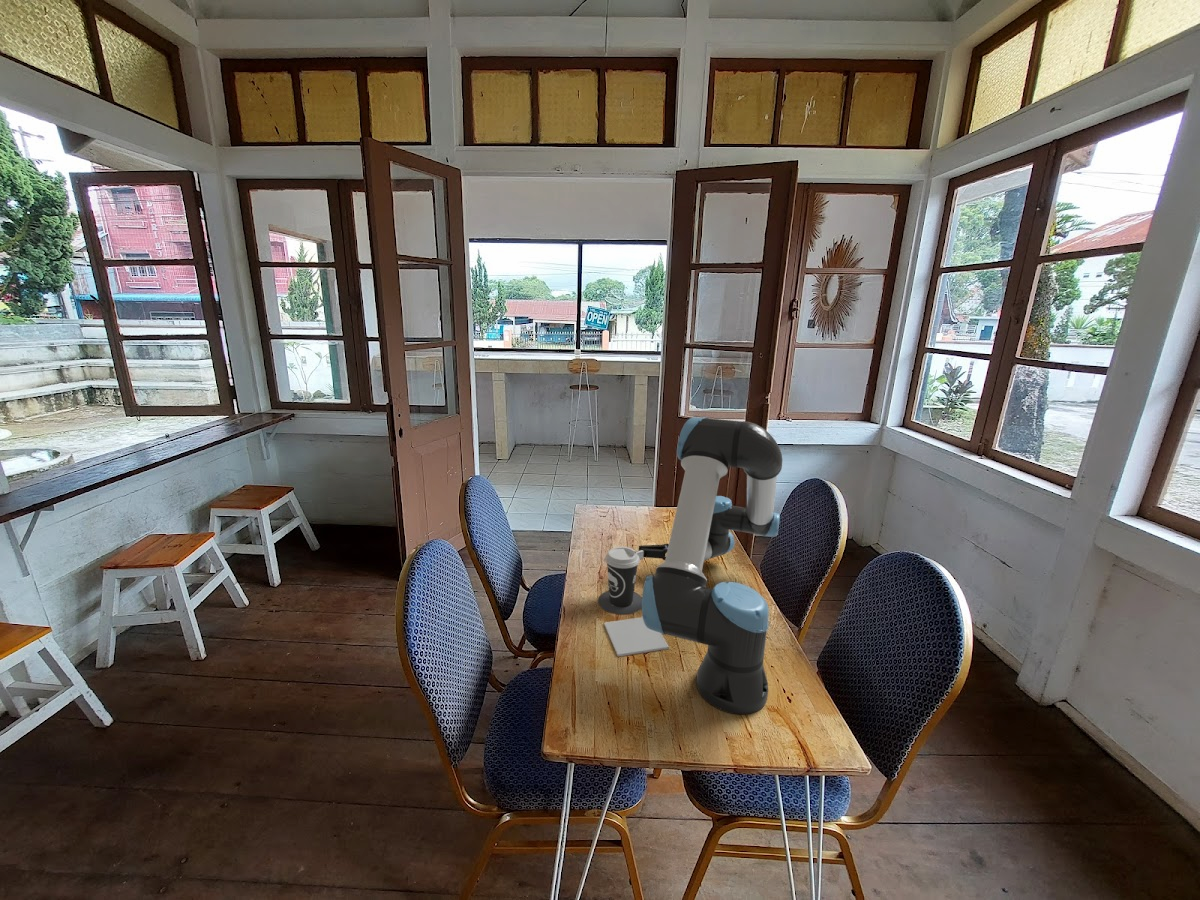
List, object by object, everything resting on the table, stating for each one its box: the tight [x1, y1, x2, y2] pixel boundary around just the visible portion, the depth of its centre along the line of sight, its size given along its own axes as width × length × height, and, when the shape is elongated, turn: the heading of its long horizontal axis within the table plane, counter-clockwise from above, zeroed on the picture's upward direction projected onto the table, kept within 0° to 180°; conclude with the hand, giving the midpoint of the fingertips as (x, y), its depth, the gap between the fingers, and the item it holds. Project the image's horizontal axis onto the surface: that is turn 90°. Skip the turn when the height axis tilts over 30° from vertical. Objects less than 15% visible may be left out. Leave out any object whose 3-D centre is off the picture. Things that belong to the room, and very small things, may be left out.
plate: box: [603, 616, 670, 658], centre depth 126 cm, size 13×13×1 cm
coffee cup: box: [605, 546, 641, 607], centre depth 139 cm, size 10×10×15 cm
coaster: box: [597, 589, 642, 616], centre depth 141 cm, size 13×13×1 cm
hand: (639, 569), depth 143 cm, fingers open, 13 cm apart
